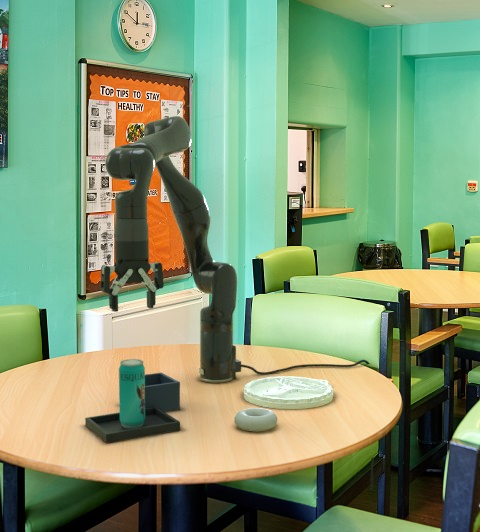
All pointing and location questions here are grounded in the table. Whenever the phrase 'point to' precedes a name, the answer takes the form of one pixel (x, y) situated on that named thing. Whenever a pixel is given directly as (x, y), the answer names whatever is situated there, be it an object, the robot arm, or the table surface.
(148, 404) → the caddy
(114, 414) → the tray
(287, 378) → the medallion
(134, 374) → the beverage can
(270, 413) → the donut
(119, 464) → the table surface
